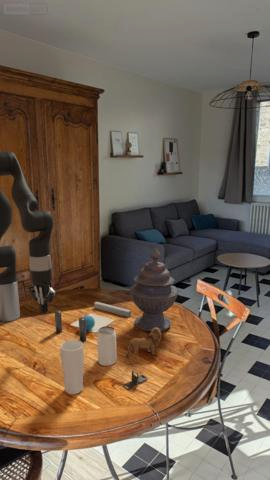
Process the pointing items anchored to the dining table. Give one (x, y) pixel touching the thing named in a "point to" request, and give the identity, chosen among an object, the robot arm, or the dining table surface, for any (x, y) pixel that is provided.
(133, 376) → the strap clip
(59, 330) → the post left
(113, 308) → the wall
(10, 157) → the robot arm
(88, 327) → the ball
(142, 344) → the lion figurine
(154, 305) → the decorative urn
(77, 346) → the drinking glass
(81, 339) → the post right
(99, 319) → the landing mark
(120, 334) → the dining table surface
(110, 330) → the can
